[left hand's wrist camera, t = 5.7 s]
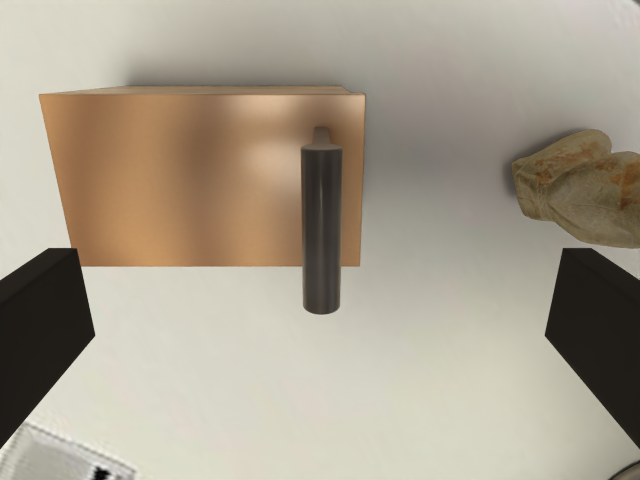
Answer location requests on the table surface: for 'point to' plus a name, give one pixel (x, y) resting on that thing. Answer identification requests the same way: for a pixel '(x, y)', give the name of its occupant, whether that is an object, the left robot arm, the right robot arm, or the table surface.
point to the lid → (213, 180)
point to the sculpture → (583, 189)
